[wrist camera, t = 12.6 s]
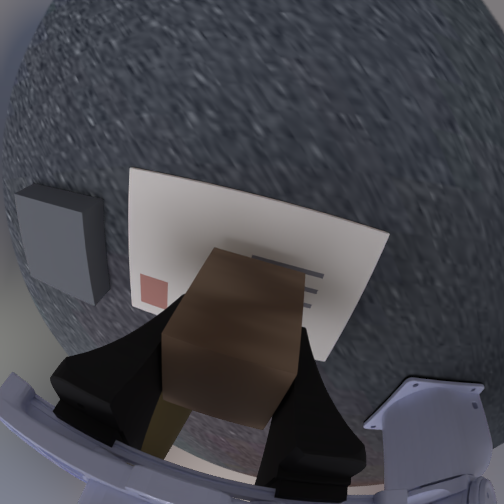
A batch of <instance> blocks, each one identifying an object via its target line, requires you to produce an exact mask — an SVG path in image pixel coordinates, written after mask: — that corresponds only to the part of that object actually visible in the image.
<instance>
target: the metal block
mask: <svg viewBox="0 0 504 504" xmlns="http://www.w3.org/2000/svg"><path fill="white" fill-rule="evenodd" d="M14 196H15V203H16V210H17V216H18V221H19V227H20V232H21V237H22V242H23V246H24V251H25V255H26V259H27V263H28V267H29V271H30V274H31V276H32V277H34V278H36V279H37V280H39V281H41V282H43V283H46V284H48V285H50V286H52V287H54V288H56V289H58V290H60V291H62V292H64V293H66V294H69V295H71V296H73V297H75V298H77V299H80V300H82V301H84V302H87V303H89V304H91V305H93V306H96V304H97V303H98V302H99V301H100V300H101V299H102V298H103V296H104V295H105V294H106V293H107V292H108V291H109V290H110V283H109V274H108V265H107V255H106V243H105V228H104V206H103V199H100V198H96V197H92V196H88V195H83V194H79V193H75V192H70V191H66V190H62V189H57V188H53V187H48V186H44V185H39V184H35V183H34V184H32V185H30V186H28V187H26V188H24V189H22V190H21V191H19V192H17V193H15V194H14Z"/></svg>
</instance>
